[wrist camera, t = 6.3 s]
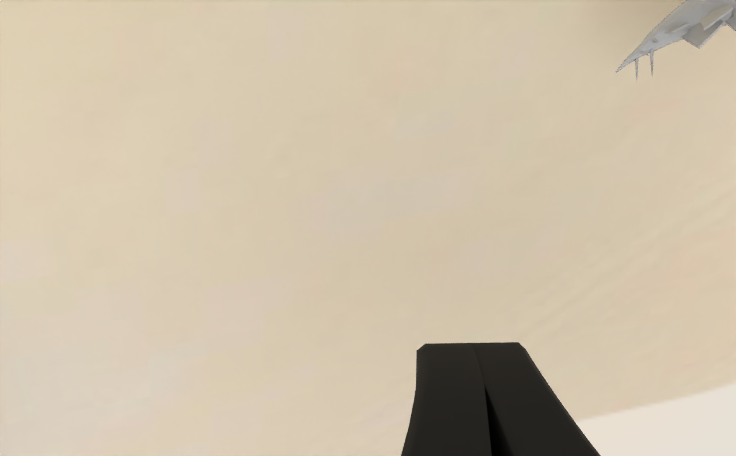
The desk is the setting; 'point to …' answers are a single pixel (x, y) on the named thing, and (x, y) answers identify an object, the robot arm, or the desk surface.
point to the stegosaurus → (687, 26)
